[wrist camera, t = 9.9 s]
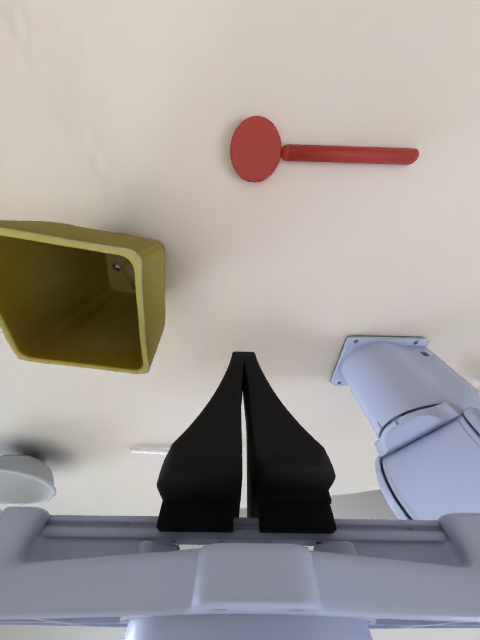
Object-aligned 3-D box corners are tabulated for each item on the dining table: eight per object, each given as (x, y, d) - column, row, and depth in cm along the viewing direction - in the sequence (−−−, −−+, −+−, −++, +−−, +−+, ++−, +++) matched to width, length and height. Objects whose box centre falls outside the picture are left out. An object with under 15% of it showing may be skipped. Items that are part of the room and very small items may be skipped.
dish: (24, 425, 33) (-8, 459, 29) (93, 463, 40) (75, 494, 36) (-39, 449, 37) (-74, 482, 33) (33, 480, 44) (11, 510, 40)
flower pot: (75, 206, 17) (-64, 216, 9) (182, 226, 18) (138, 251, 10) (96, 301, 21) (16, 360, 14) (180, 313, 22) (149, 376, 14)
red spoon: (424, 125, 14) (435, 121, 13) (401, 186, 16) (409, 186, 15) (230, 118, 14) (230, 113, 13) (230, 181, 16) (230, 180, 15)
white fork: (129, 441, 36) (123, 453, 34) (242, 442, 36) (242, 454, 34) (133, 451, 37) (129, 462, 36) (242, 451, 37) (242, 463, 36)
